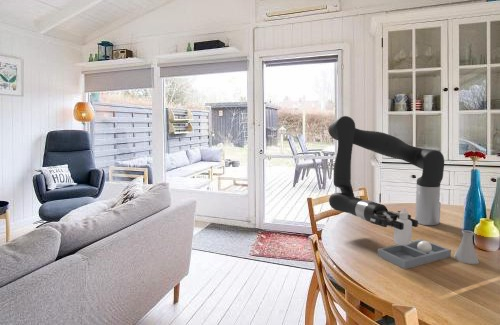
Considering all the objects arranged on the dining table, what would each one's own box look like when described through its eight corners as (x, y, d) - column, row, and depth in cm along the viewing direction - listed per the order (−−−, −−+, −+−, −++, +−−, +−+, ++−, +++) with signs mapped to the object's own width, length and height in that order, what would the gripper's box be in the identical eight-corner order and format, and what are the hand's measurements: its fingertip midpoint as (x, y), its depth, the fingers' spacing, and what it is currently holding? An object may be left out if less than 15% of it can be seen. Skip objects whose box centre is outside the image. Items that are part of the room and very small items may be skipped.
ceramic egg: (423, 250, 110) (423, 238, 109) (434, 254, 106) (435, 242, 105) (414, 252, 108) (414, 240, 107) (425, 257, 104) (426, 244, 103)
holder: (421, 246, 114) (421, 238, 114) (450, 258, 104) (451, 249, 103) (377, 257, 106) (377, 248, 106) (404, 270, 96) (404, 261, 95)
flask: (484, 266, 97) (486, 236, 96) (458, 265, 99) (460, 235, 98) (473, 257, 104) (474, 228, 103) (449, 255, 106) (450, 227, 105)
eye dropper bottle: (391, 240, 105) (393, 206, 104) (409, 241, 104) (412, 207, 102) (394, 245, 101) (395, 209, 99) (413, 246, 100) (415, 210, 98)
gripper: (355, 203, 111) (393, 216, 96) (386, 199, 117) (426, 211, 101) (355, 224, 112) (392, 240, 97) (385, 219, 118) (425, 233, 102)
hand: (409, 225), depth 99 cm, fingers closed on eye dropper bottle, 5 cm apart
